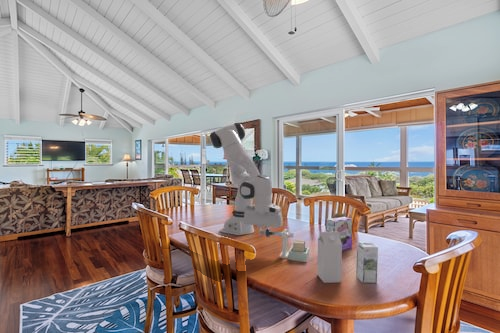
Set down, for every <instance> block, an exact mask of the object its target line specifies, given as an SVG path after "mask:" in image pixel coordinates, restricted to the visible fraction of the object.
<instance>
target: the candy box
mask: <svg viewBox="0 0 500 333" xmlns="http://www.w3.org/2000/svg"><path fill="white" fill-rule="evenodd" d="M325 226H326V227H325V232H338V235H339V237H340V240H341V243H342V251H346V250H350V249H351V250H352V248H353V218H351V217H347V216H346V217H340V218H326V223H325Z"/></svg>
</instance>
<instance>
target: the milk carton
mask: <svg viewBox="0 0 500 333" xmlns="http://www.w3.org/2000/svg"><path fill="white" fill-rule="evenodd" d="M342 256H343V250H342V243H341V240H340V237H339V235H338V232H326V231H321V232H320V234H319V237H318V238H317V276H318V277H319V278H320V280H321V281H322V283H326V284H327V283H329V284H330V283H334V284H335V283H342V274H343V273H342V272H343V271H342V268H343V266H342V264H343V262H342V261H343V260H342V259H343V257H342Z"/></svg>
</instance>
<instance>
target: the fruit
mask: <svg viewBox="0 0 500 333" xmlns="http://www.w3.org/2000/svg"><path fill="white" fill-rule="evenodd" d="M340 217H347V215H346V214H345V213H342V212H337V213H335V214H334V215H333V216H332V218H340ZM332 218H331V219H332Z"/></svg>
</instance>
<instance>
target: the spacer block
mask: <svg viewBox="0 0 500 333" xmlns="http://www.w3.org/2000/svg"><path fill="white" fill-rule="evenodd" d="M292 244H293V245H292V246H293V251H295V252H303V253H305V247H306V240H304V239H294V241H293V243H292Z"/></svg>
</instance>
